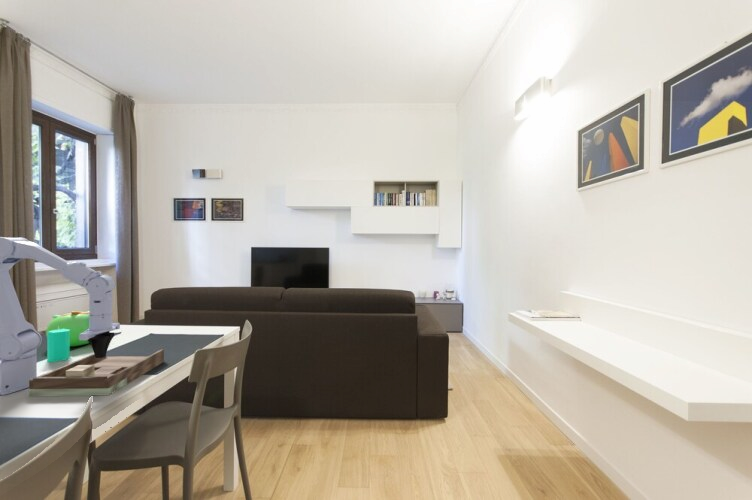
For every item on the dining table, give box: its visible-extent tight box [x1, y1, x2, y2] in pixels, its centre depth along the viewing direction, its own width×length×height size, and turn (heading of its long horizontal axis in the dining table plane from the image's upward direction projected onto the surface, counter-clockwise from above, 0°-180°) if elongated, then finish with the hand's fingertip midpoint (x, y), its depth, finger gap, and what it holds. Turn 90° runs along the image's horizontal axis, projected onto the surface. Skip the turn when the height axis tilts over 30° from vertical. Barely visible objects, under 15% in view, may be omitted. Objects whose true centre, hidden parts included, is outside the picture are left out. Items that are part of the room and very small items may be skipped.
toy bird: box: [45, 310, 90, 348], centre depth 143 cm, size 18×17×15 cm
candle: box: [46, 326, 71, 363], centre depth 126 cm, size 6×6×12 cm
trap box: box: [28, 348, 165, 397], centre depth 110 cm, size 28×21×5 cm
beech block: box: [66, 365, 94, 377], centre depth 100 cm, size 4×4×4 cm
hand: (100, 357), depth 108 cm, fingers closed
